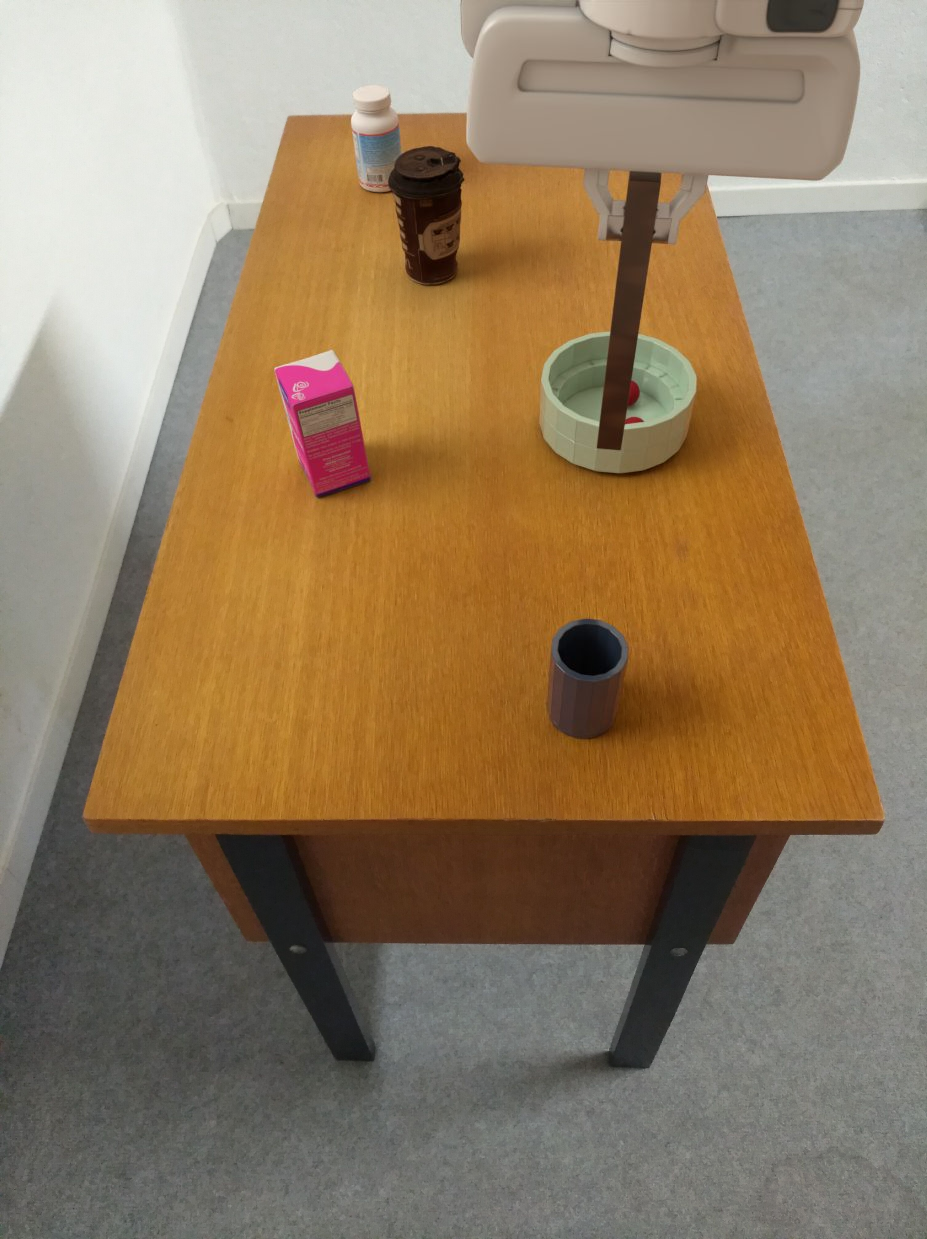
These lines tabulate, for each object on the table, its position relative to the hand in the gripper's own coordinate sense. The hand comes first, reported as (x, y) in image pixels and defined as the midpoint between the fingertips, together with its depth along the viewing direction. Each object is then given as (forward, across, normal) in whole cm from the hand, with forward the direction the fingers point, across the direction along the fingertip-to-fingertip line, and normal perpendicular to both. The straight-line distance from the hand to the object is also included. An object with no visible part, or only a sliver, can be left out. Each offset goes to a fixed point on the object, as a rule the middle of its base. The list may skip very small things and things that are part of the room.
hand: (637, 237), depth 54 cm
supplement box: (+31, -26, +9) cm, 41 cm away
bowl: (+30, 0, +18) cm, 36 cm away
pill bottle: (+31, -33, +64) cm, 78 cm away
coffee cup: (+31, -22, +44) cm, 58 cm away
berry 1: (+28, +2, +21) cm, 36 cm away
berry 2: (+28, +2, +16) cm, 33 cm away
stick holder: (+30, 0, -15) cm, 34 cm away
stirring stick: (+16, 0, 0) cm, 16 cm away
